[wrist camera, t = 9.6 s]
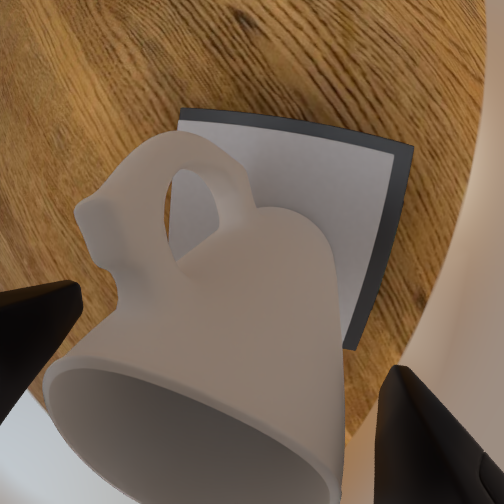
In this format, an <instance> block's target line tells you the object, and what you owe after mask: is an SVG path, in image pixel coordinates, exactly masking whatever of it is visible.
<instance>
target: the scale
mask: <svg viewBox="0 0 504 504" xmlns="http://www.w3.org/2000/svg"><path fill="white" fill-rule="evenodd" d="M177 131H186V132H190V133H193V134H196V135H199V136H201V137H204V138H206V139H207V140H209V141H211V142H212V143H214V144H215V145H216V146H218V147H219V148H220V149H222V150H223V151H224V152H226V153H227V154H228V155H230V156H231V157H232V158H233V159H235V160H236V161H237V162H239V163H240V164H241V165H243V167H244V168H245V170H246V172H247V175H248V179H249V183H250V187H251V191H252V195H253V199H254V202H255V205H256V207H257V208H260V207H280V208H285V209H289V210H292V211H295V212H297V213H299V214H301V215H303V216H305V217H306V218H308V219H309V220H311V221H312V222H313V223H314V224H315V225H316V226H317V227H318V228H319V229H320V230H321V231H322V233H323V234H324V235H325V237H326V239H327V240H328V242H329V244H330V247H331V250H332V253H333V257H334V263H335V269H336V275H337V285H338V297H339V309H340V322H341V336H342V348H343V349H348V350H354V351H355V350H356V348H357V346H358V343H359V341H360V338H361V336H362V333H363V330H364V328H365V325H366V322H367V320H368V317H369V314H370V311H371V310H372V308H373V305H374V302H375V299H376V296H377V294H378V291H379V288H380V285H381V282H382V278H383V275H384V272H385V269H386V266H387V262H388V259H389V256H390V252H391V249H392V245H393V242H394V238H395V235H396V231H397V227H398V223H399V220H400V215H401V211H402V207H403V203H404V195H405V191H406V186H407V182H408V177H409V172H410V167H411V162H412V157H413V151H414V146H412V145H408V144H405V143H401V142H398V141H394V140H390V139H387V138H383V137H379V136H375V135H371V134H367V133H362V132H358V131H354V130H349V129H345V128H340V127H335V126H330V125H325V124H320V123H314V122H309V121H303V120H297V119H291V118H284V117H277V116H270V115H263V114H255V113H246V112H236V111H226V110H214V109H200V108H181V110H180V118H179V120H178V128H177ZM219 224H220V223H219V215H218V210H217V207H216V203H215V200H214V197H213V195H212V193H211V191H210V189H209V188H208V186H207V185H206V183H205V182H204V181H203V179H202V178H201V177H200V176H199V175H198V174H196V173H194V172H192V171H189V170H184V169H180V170H179V171H178V172H177V173H176V174H175V176H174V177H173V179H172V191H171V205H170V222H169V243H168V244H169V247H170V249H171V252H172V255H173V257H174V260H175V261H176V262H177V261H178V260H179V259H180V258H182V257H183V256H184V255H186V254H187V253H188V252H189V251H191V250H192V249H193V248H195V247H196V246H197V245H199V244H200V243H201V242H202V241H204V240H205V239H206V238H208V237H209V236H210V235H211V234H213V233H214V232H215V231H217V230H218V228H219Z"/></svg>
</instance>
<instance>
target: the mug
mask: <svg viewBox="0 0 504 504" xmlns="http://www.w3.org/2000/svg"><path fill="white" fill-rule="evenodd" d="M180 169H184V170H189V171H192V172H194V173H196V174H198V175H199V176H200V177H201V178H202V179H203V181H204V182H205V183H206V185H207V186H208V188H209V189H210V191H211V193H212V195H213V197H214V200H215V203H216V207H217V210H218V215H219V223H220V224H219V228H218V230H217V231H215V232H214V233H213V234H211V235H210V236H209V237H208V238H206V239H205V240H204V241H202V242H201V243H200V244H199V245H197V246H196V247H195V248H193V249H192V250H191V251H189V252H188V253H187V254H186V255H184V256H183V257H182V258H180V259H179V260H178V261H177V262H176V261H175V260H174V257H173V255H172V252H171V249H170V247H169V244H168V240H167V235H166V230H165V224H164V206H165V198H166V193H167V190H168V187H169V184H170V183H171V181H172V179H173V177H174V176H175V174H176V173H177V172H178V171H179V170H180ZM74 216H75V219H76V222H77V224H78V226H79V228H80V230H81V232H82V234H83V237H84V240H85V242H86V245H87V248H88V251H89V253H90V255H91V258H92V260H93V261H94V263H95V264H96V265H97V266H98V267H100V268H103V269H105V270H108V271H109V272H110V273H111V274H112V276H113V278H114V280H115V283H116V286H117V291H118V303H117V308H116V310H115V311H114V312H112V313H111V314H110V315H109V316H108V317H106V318H105V319H104V320H103V321H102V322H101V323H99V324H98V325H97V326H96V327H95V328H94V329H93V330H91V331H90V332H89V333H88V334H87V335H86V336H85V337H84V338H83V339H82V340H80V341H79V342H78V343H77V344H76V345H75V346H74V347H73V348H72V349H71V350H70V351H69V352H68V353H67V354H66V355H65V356H64V357H62V358H60V359H58V360H56V361H55V362H53V363H52V364H51V365H50V366H49V368H48V369H47V370H46V372H45V375H44V378H43V396H44V401H45V405H46V408H47V410H48V413H49V415H50V417H51V419H52V421H53V423H54V425H55V426H56V428H57V430H58V431H59V433H60V434H61V436H62V437H63V438H64V440H65V441H66V443H67V444H68V445H69V446H70V447H71V449H72V450H73V451H74V452H75V453H76V454H77V455H78V456H79V458H80V459H81V460H82V461H83V462H84V463H85V464H86V465H88V466H89V467H90V468H91V469H92V470H93V471H94V472H95V473H96V474H98V475H99V476H100V477H101V478H102V479H104V480H105V481H106V482H108V483H109V484H110V485H112V486H113V487H114V488H116V489H117V490H119V491H120V492H122V493H123V494H125V495H126V496H128V497H130V498H131V499H133V500H135V501H137V502H138V503H140V504H340V500H341V495H342V494H341V493H342V492H341V485H342V476H343V465H344V449H345V397H344V371H343V352H342V336H341V322H340V309H339V297H338V285H337V275H336V269H335V263H334V257H333V253H332V250H331V247H330V244H329V242H328V240H327V239H326V237H325V235H324V234H323V233H322V231H321V230H320V229H319V228H318V227H317V226H316V225H315V224H314V223H313V222H312V221H311V220H309V219H308V218H306V217H305V216H303V215H301V214H299V213H297V212H295V211H292V210H289V209H285V208H280V207H260V208H257V207H256V205H255V202H254V199H253V195H252V191H251V187H250V183H249V179H248V175H247V172H246V170H245V168H244V167H243V165H241V164H240V163H239V162H237V161H236V160H235V159H233V158H232V157H231V156H230V155H228V154H227V153H226V152H224V151H223V150H222V149H220V148H219V147H218V146H216V145H215V144H214V143H212V142H211V141H209V140H207V139H206V138H204V137H201V136H199V135H196V134H193V133H190V132H186V131H169V132H165V133H162V134H158V135H156V136H154V137H152V138H150V139H148V140H146V141H145V142H143V143H142V144H141V145H139V146H138V147H137V148H136V149H134V150H133V151H132V152H131V153H130V154H129V155H128V156H127V157H126V158H125V159H124V160H123V161H122V162H121V163H120V164H119V166H118V167H117V168H116V169H115V170H114V172H113V173H112V174H111V175H110V176H109V178H108V179H107V180H106V181H105V183H104V184H103V185H102V186H101V187H100V188H99V189H98V190H97V191H96V192H95V193H94V194H92V195H90V196H89V197H87V198H85V199H84V200H82V201H81V202H79V203H78V204H77V205H76V207H75V209H74Z"/></svg>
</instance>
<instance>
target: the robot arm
mask: <svg viewBox="0 0 504 504" xmlns="http://www.w3.org/2000/svg"><path fill="white" fill-rule="evenodd" d="M82 312H83V301H82V294H81V287H80V285H79V284H78V283H77V282H74V281H71V280H63V281H58V282H52V283H47V284H42V285H36V286H31V287H26V288H20V289H15V290H10V291H4V292H0V425H1V424H2V422H3V421H4V419H5V418H6V417H7V415H8V414H9V412H10V411H11V409H12V408H13V407H14V405H15V404H16V403H17V401H18V400H19V398H20V397H21V396H22V394H23V393H24V391H25V390H26V389H27V388H28V386H29V385H30V384H31V382H32V381H33V380H34V378H35V377H36V376H37V375H38V373H39V372H40V371H41V369H42V368H43V367H44V366H45V364H46V363H47V362H48V361H49V359H50V358H51V357H52V356H53V354H54V353H55V352H56V350H57V349H58V348H59V346H60V345H61V344H62V342H63V341H64V339H65V337H66V336H67V335H68V333H69V332H70V330H71V329H72V327H73V326H74V324H75V323H76V321H77V320H78V318H79V317H80V316H81V314H82ZM376 426H377V427H376V436H375V478H374V480H375V481H374V504H504V473H503V471H501V469H500V468H499V467H498V466H497V465H496V464H495V462H494V461H493V460H492V459H491V458H490V457H489V456H488V454H487V453H486V452H483V451H484V450H483V449H482V448H481V446H480V445H479V444H478V443H477V442H476V441H475V440H474V438H473V437H472V436H471V435H470V434H469V433H468V432H467V431H466V429H465V428H464V427H463V426H462V425H461V424H460V423H459V422H458V420H457V419H456V418H455V417H454V416H453V415H452V414H451V413H450V412H449V410H447V408H446V407H445V406H444V405H443V404H442V403H441V402H440V401H439V399H438V398H437V397H436V396H435V395H434V394H433V393H432V392H431V391H430V390H429V389H428V388H427V386H426V385H425V384H424V383H423V382H422V381H421V380H420V379H419V378H418V377H417V376H416V375H415V374H414V372H413V371H412V370H411V369H410V368H409V367H407V366H401V365H394V366H392V367H391V369H390V371H389V373H388V375H387V377H386V379H385V380H384V382H383V384H382V386H381V388H380V391H379V399H378V413H377V425H376Z"/></svg>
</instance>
